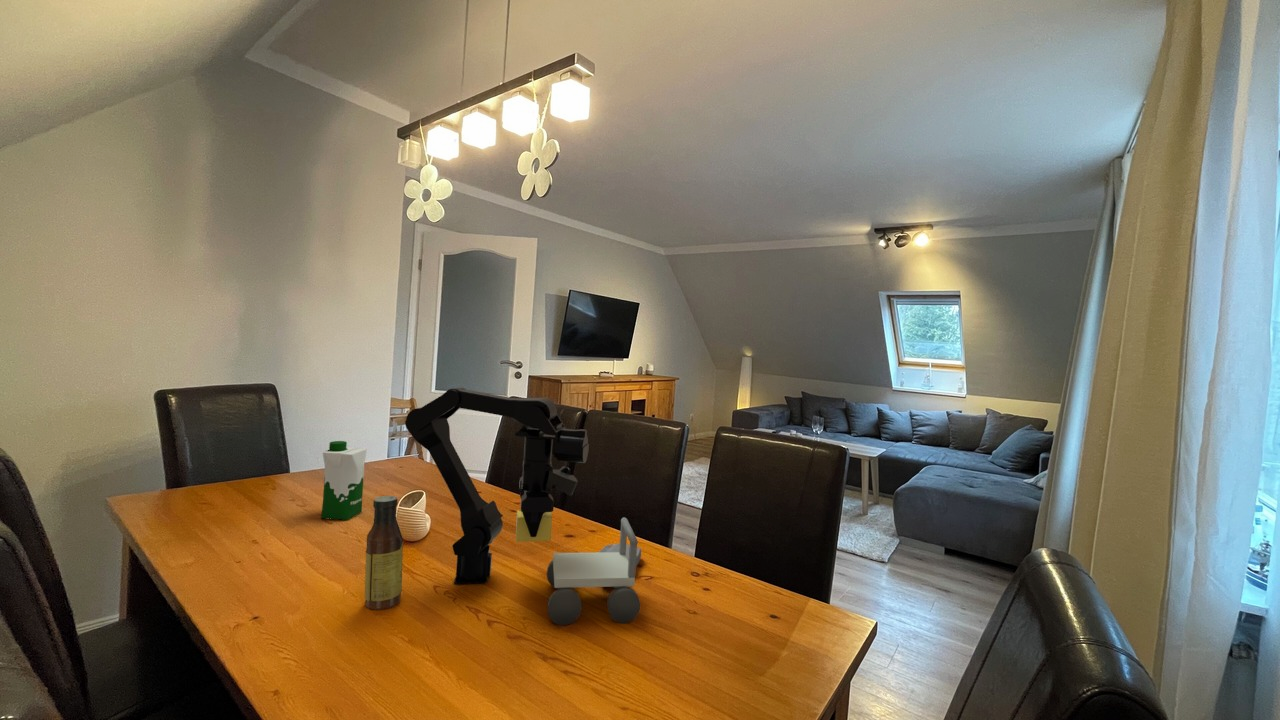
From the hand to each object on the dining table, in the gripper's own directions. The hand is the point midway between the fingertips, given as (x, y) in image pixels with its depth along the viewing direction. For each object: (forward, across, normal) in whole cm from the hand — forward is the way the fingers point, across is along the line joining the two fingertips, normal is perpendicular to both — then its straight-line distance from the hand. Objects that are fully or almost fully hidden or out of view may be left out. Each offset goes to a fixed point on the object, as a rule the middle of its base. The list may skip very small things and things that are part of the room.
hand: (532, 532), depth 108 cm
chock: (+1, 0, 0) cm, 1 cm away
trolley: (+11, -9, -11) cm, 18 cm away
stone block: (+12, +8, -20) cm, 25 cm away
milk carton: (+11, +46, +49) cm, 67 cm away
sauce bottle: (+11, -5, +27) cm, 30 cm away
